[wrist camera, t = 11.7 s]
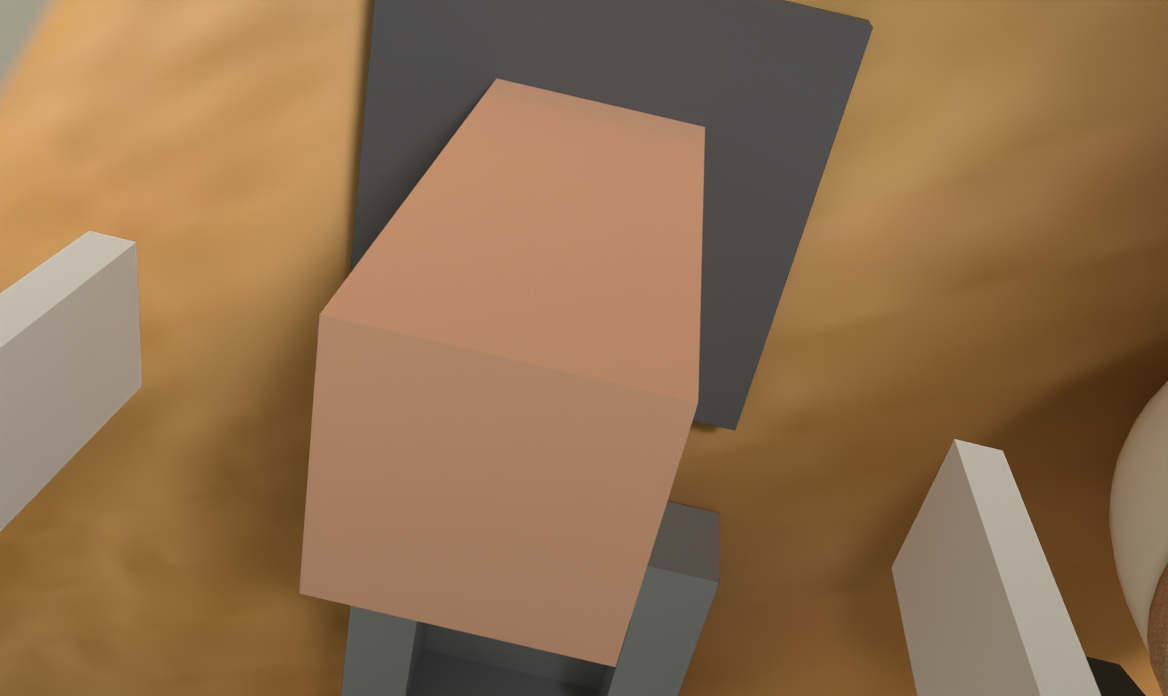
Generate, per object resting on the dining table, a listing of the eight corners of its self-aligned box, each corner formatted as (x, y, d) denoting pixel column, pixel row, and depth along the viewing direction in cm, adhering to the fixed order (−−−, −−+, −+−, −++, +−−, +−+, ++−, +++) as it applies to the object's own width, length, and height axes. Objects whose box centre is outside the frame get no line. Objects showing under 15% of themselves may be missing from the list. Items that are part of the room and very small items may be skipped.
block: (704, 127, 23) (698, 403, 13) (655, 311, 26) (615, 666, 15) (496, 78, 23) (319, 313, 13) (466, 267, 26) (298, 593, 15)
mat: (867, 20, 22) (872, 27, 22) (734, 414, 28) (735, 430, 27) (392, -92, 22) (382, -88, 22) (353, 325, 28) (344, 339, 27)
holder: (718, 512, 30) (719, 582, 27) (643, 730, 35) (637, 806, 32) (392, 437, 30) (362, 499, 27) (364, 664, 35) (336, 736, 32)
